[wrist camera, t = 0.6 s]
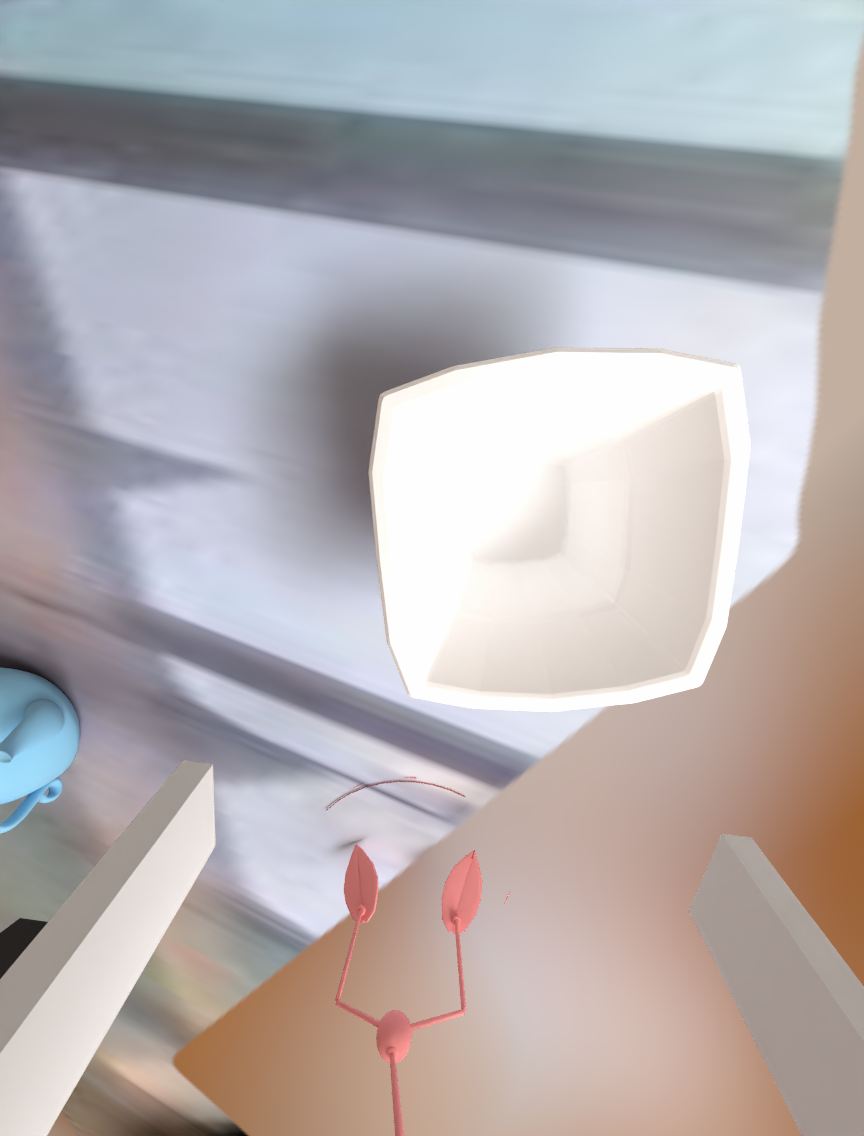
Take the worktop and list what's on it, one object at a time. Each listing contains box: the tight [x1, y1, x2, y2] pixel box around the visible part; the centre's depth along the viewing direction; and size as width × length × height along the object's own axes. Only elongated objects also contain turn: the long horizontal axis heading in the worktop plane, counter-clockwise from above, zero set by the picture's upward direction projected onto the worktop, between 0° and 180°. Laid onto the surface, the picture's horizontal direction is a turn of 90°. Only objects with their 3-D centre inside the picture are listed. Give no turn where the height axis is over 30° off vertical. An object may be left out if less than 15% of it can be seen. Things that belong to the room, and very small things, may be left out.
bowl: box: [368, 348, 751, 712], centre depth 29 cm, size 19×19×14 cm
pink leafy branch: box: [326, 777, 510, 1136], centre depth 29 cm, size 15×26×35 cm, turn 86°
